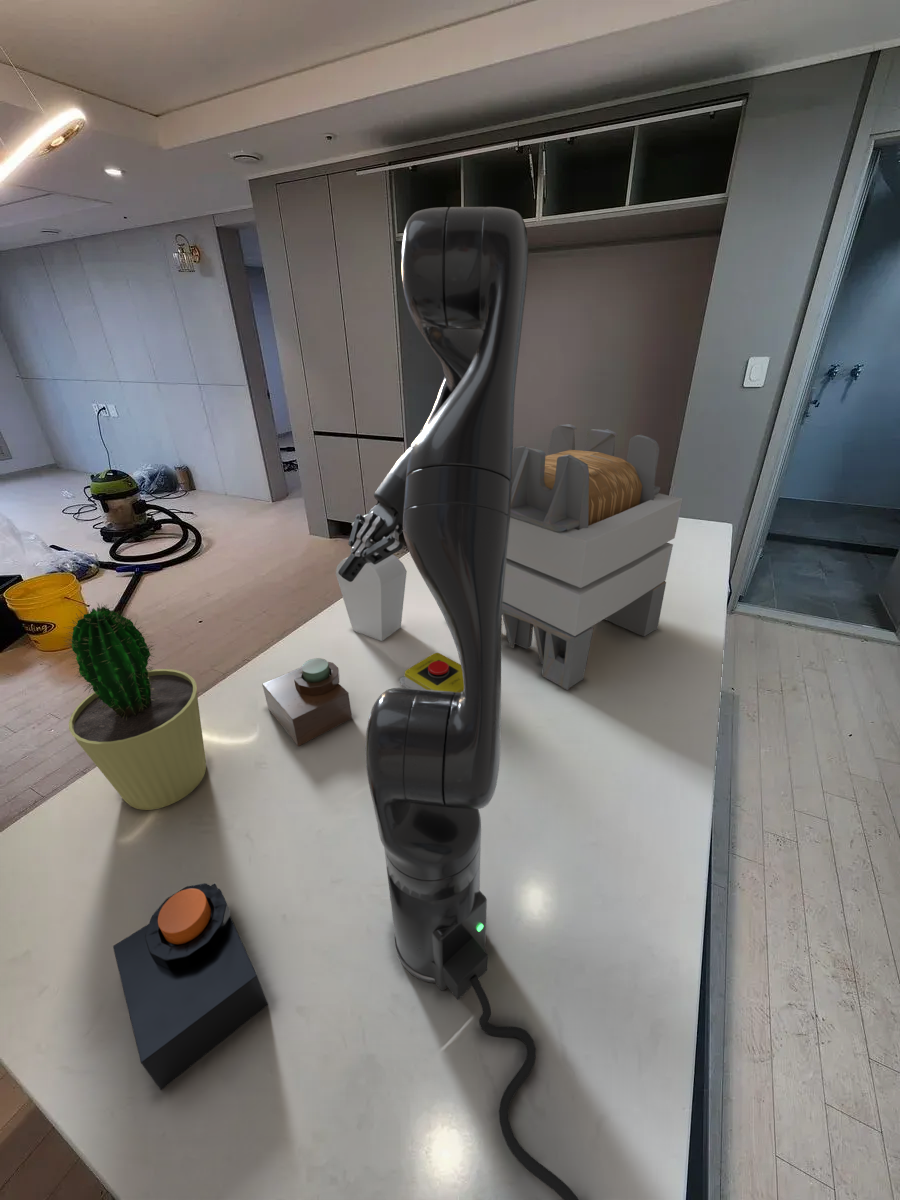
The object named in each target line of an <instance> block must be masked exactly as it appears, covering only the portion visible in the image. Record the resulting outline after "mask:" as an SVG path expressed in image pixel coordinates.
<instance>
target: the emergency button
mask: <svg viewBox="0 0 900 1200" xmlns="http://www.w3.org/2000/svg"><path fill="white" fill-rule="evenodd" d="M399 684H400V685H401V686H402V687H403V688H412V689H425V690H437V691H450V692H455V693H456V692H460V693H461V692H464V682H463V673H462V668H461V663H460V662H459V663H458V662H457V661H455V660H453V659H451V658H450V657H447V656H446V655H443V654H442V653H440V652H434V653H432V654H431V655H428V656H427V657H425V658H424V659H422V660H420V661H419V662H417V663H415V664H414V665H412V666H410V667H408V668H407V669H406V670H405V671H404V675H403V676H402V677H400V678H399Z"/></svg>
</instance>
